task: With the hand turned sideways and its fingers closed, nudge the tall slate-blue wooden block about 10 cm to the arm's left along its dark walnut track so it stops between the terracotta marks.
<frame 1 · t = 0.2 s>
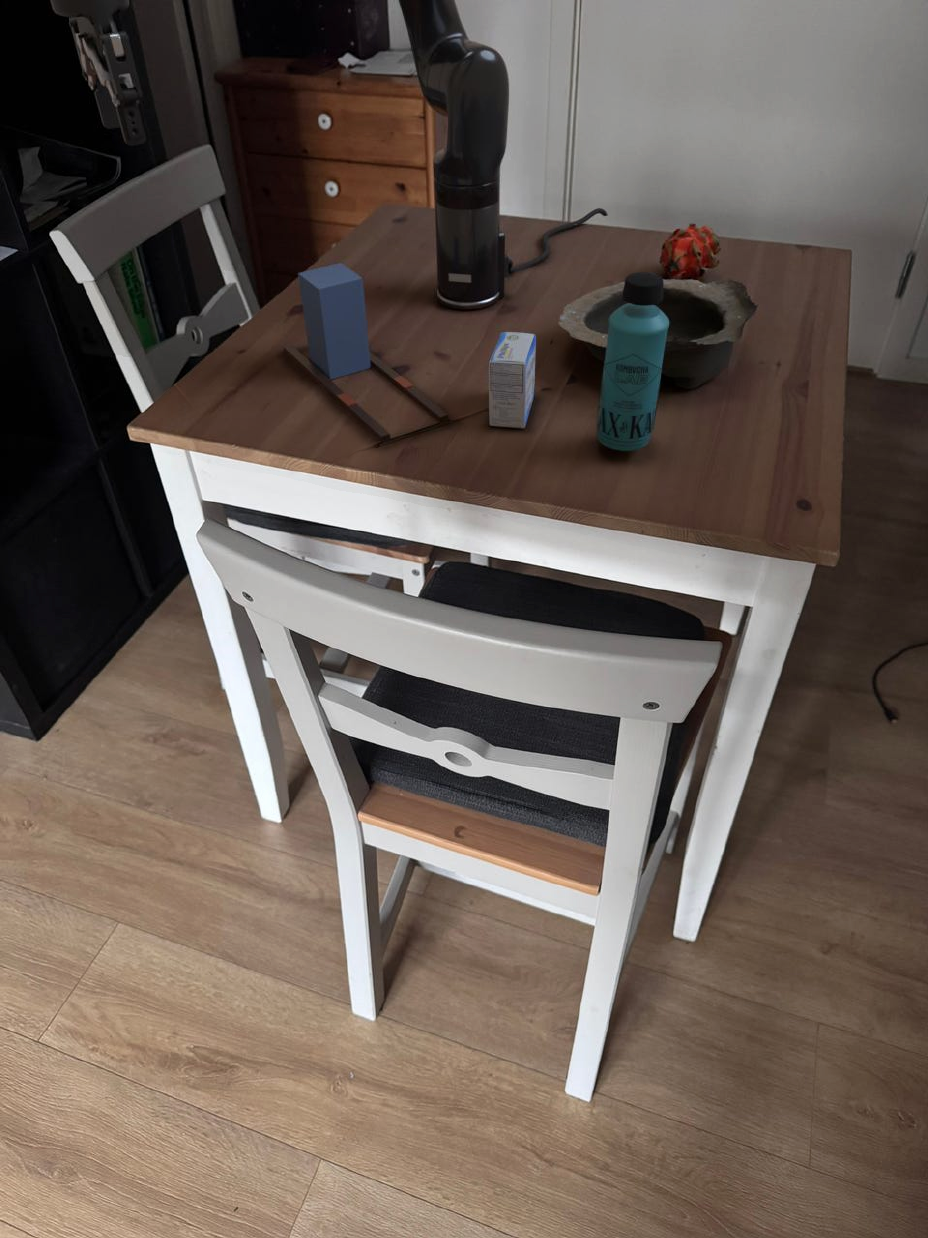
hand: (125, 135, 99), 29 cm above the table, tool pointing down, fingers open, 8 cm apart
track: (361, 387, 116), on the table
block: (335, 321, 115), point 7 cm above the table, slide at 0.0 cm
stone bowl: (649, 362, 120), on the table
medicine box: (511, 413, 110), on the table
beverage bottle: (622, 449, 104), on the table
dragon fruit: (685, 280, 140), on the table
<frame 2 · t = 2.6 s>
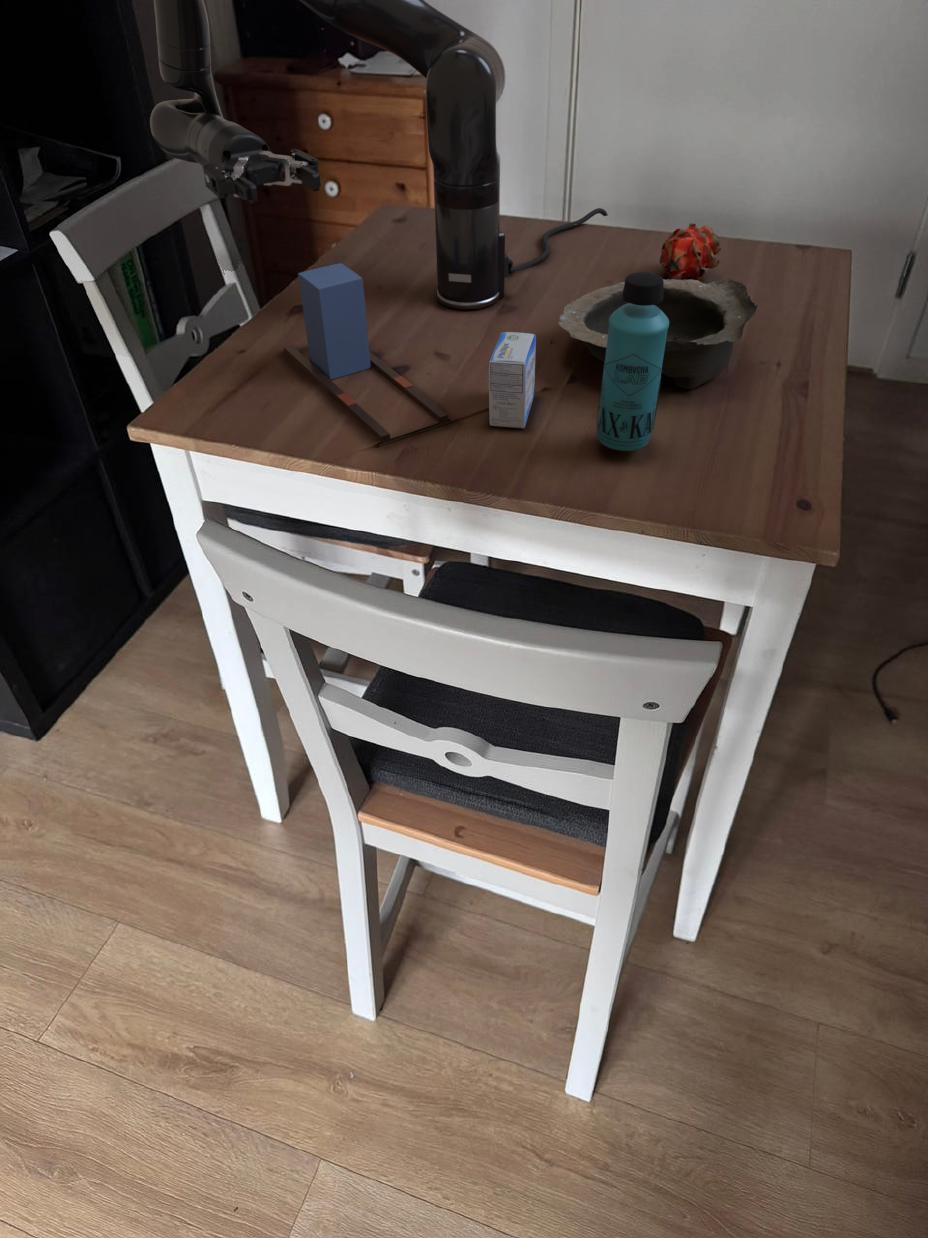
hand: (286, 188, 113), 20 cm above the table, tool horizontal, fingers open, 8 cm apart
nothing on the table moved.
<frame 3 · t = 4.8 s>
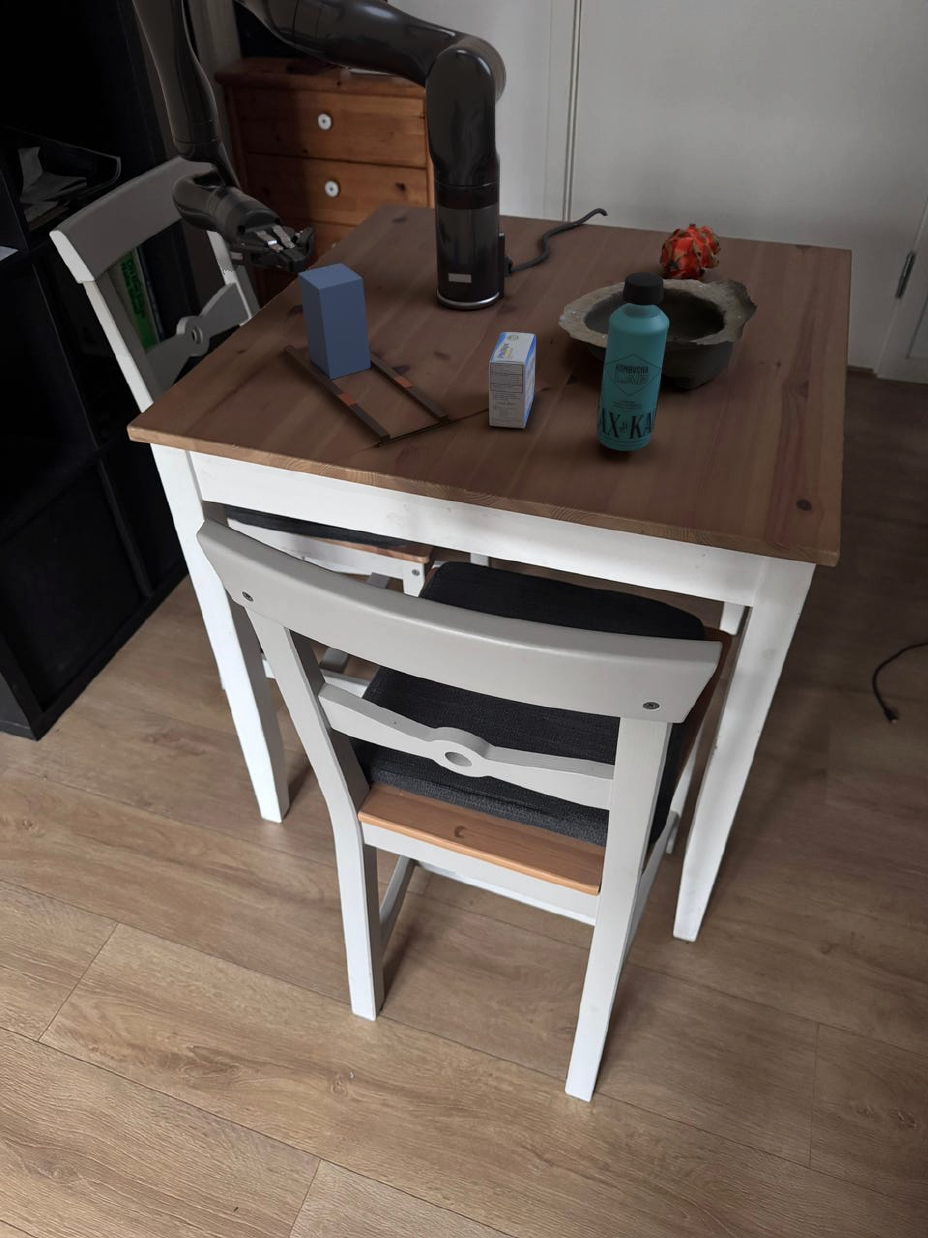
hand: (299, 266, 118), 11 cm above the table, tool horizontal, fingers closed
nothing on the table moved.
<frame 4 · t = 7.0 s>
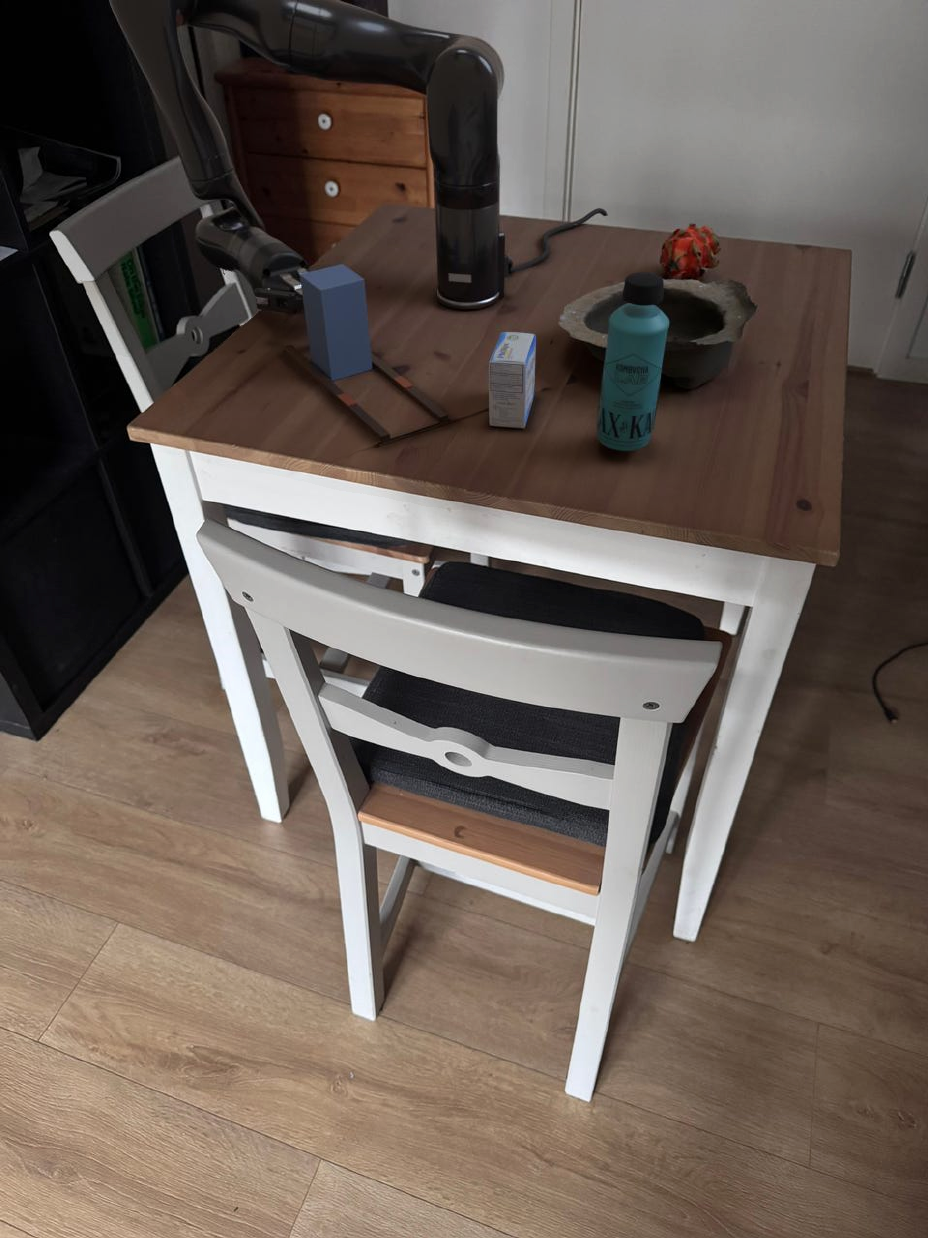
hand: (326, 311, 116), 7 cm above the table, tool horizontal, fingers closed
block: (337, 323, 115), point 7 cm above the table, slide at 0.5 cm, touching gripper
everything else where it was.
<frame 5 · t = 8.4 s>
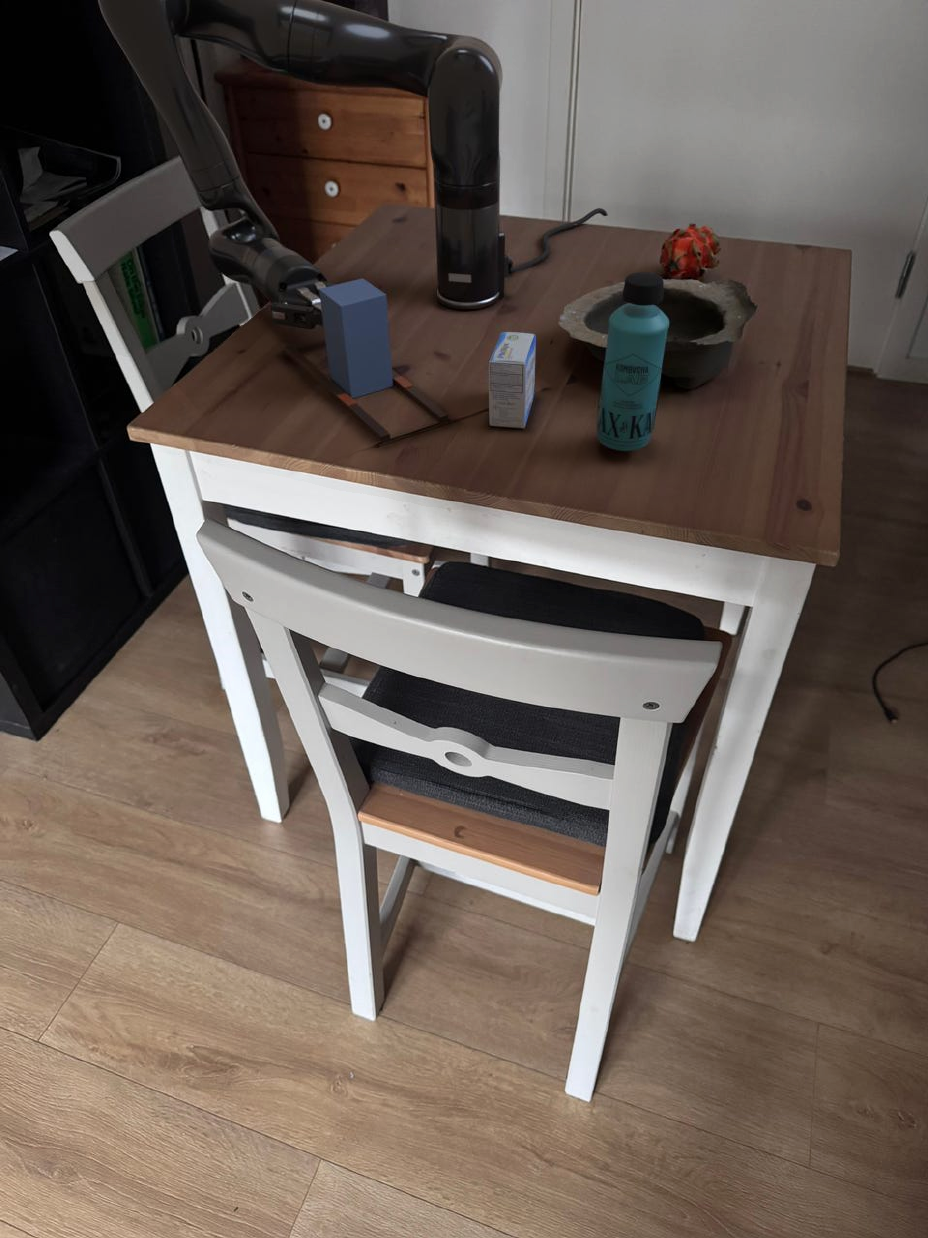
hand: (345, 327, 113), 7 cm above the table, tool horizontal, fingers closed
block: (356, 339, 111), point 7 cm above the table, slide at 6.0 cm, touching gripper
everything else where it was.
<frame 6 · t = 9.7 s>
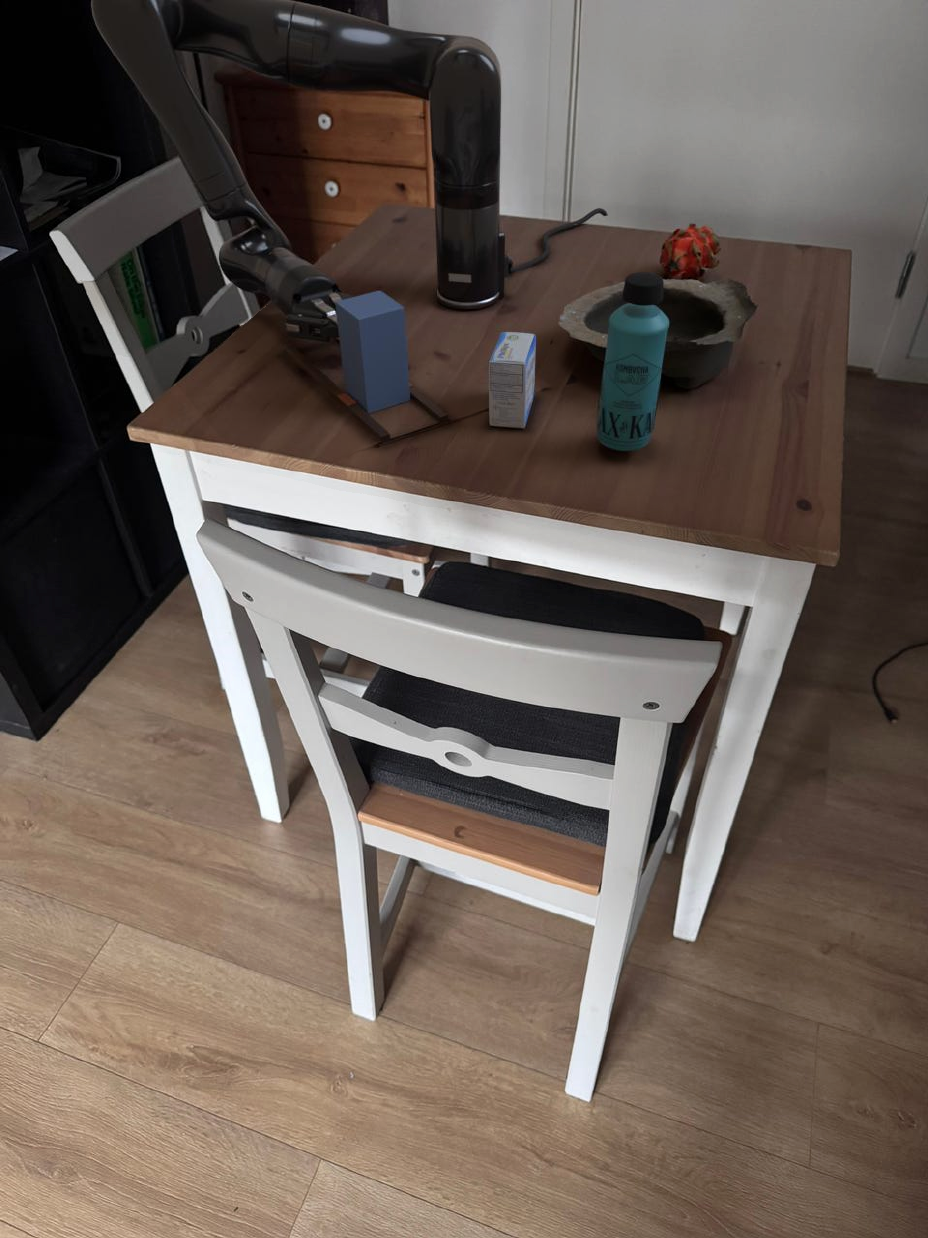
hand: (361, 340, 110), 7 cm above the table, tool horizontal, fingers closed
block: (373, 352, 108), point 7 cm above the table, slide at 10.5 cm, touching gripper
everything else where it was.
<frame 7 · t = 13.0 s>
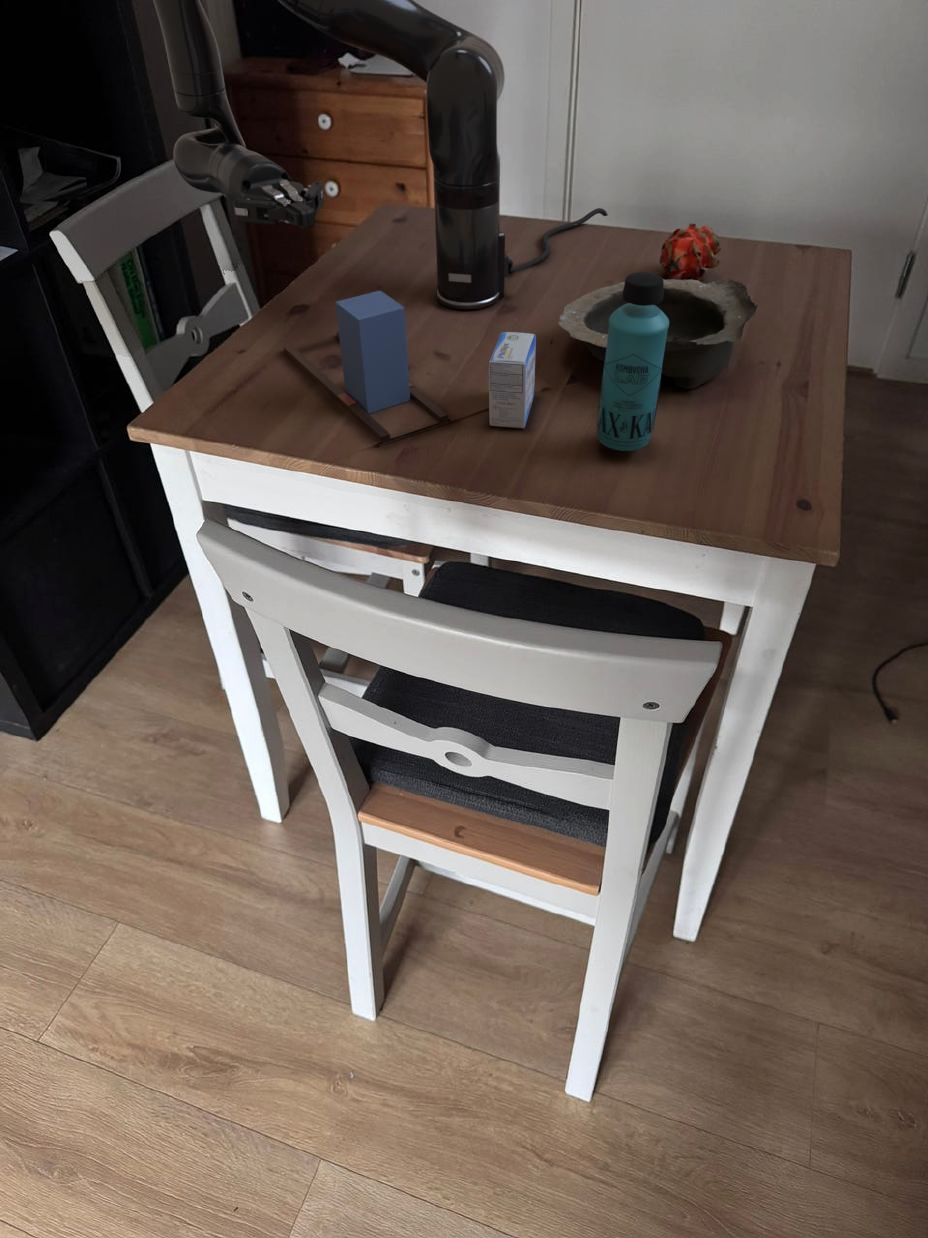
hand: (308, 219, 110), 18 cm above the table, tool horizontal, fingers closed
block: (373, 352, 108), point 7 cm above the table, slide at 10.5 cm
everything else where it was.
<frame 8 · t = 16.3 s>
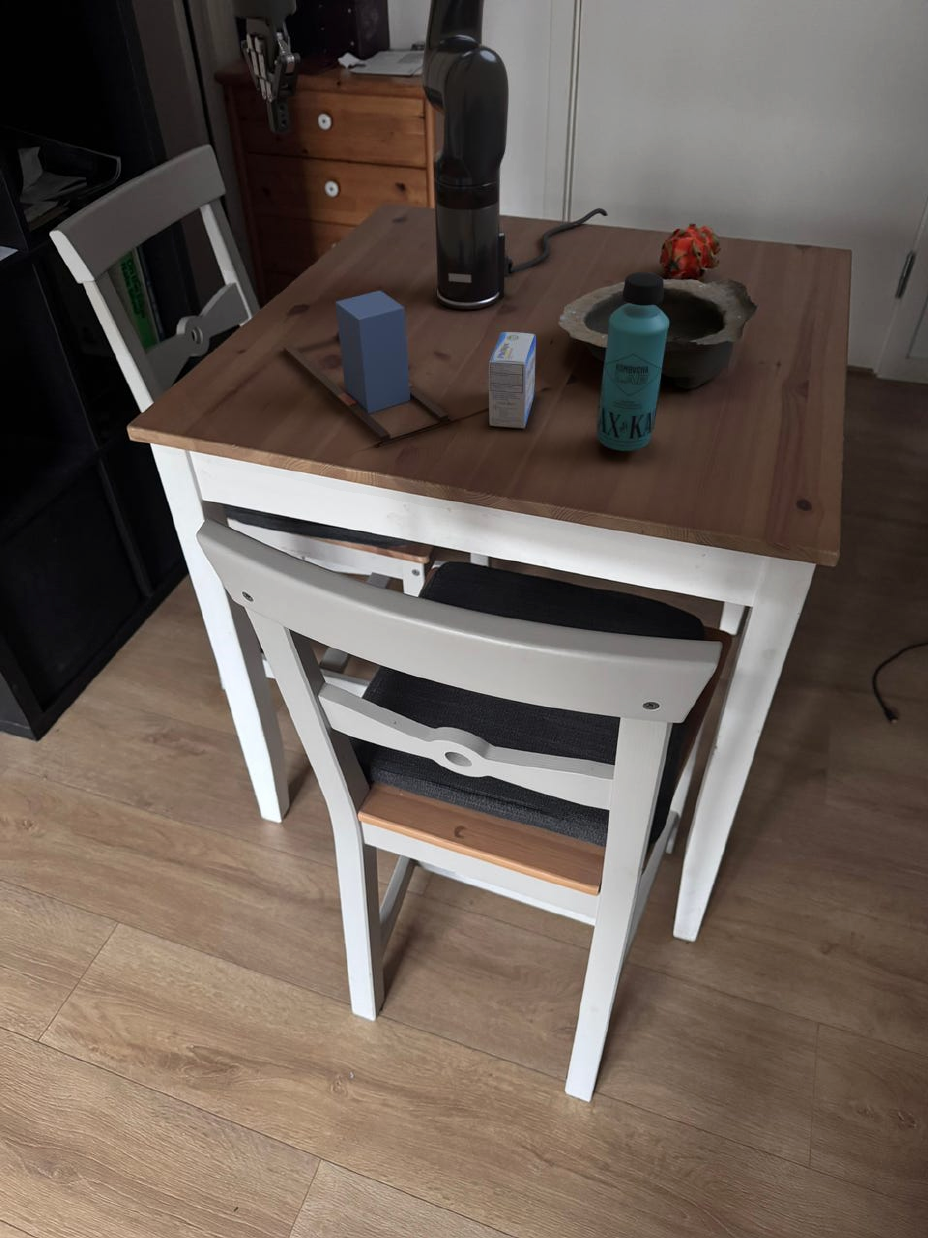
hand: (281, 132, 114), 25 cm above the table, tool pointing down, fingers closed
nothing on the table moved.
at the end: block slide at 10.5 cm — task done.
